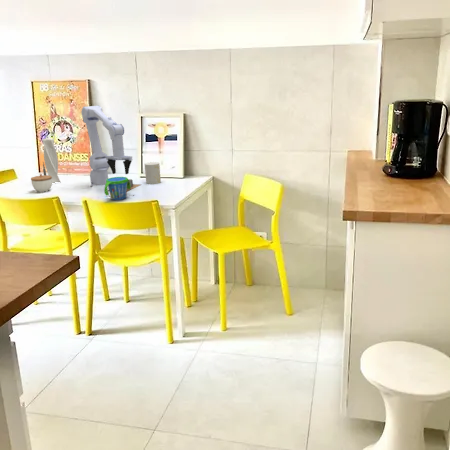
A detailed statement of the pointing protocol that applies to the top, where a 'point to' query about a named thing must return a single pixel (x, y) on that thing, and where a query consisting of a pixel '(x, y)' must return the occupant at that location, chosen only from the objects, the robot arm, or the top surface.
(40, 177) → the lidded jar
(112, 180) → the snack cup
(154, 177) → the cup
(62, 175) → the top surface
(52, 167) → the skyscraper
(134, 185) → the gear board
